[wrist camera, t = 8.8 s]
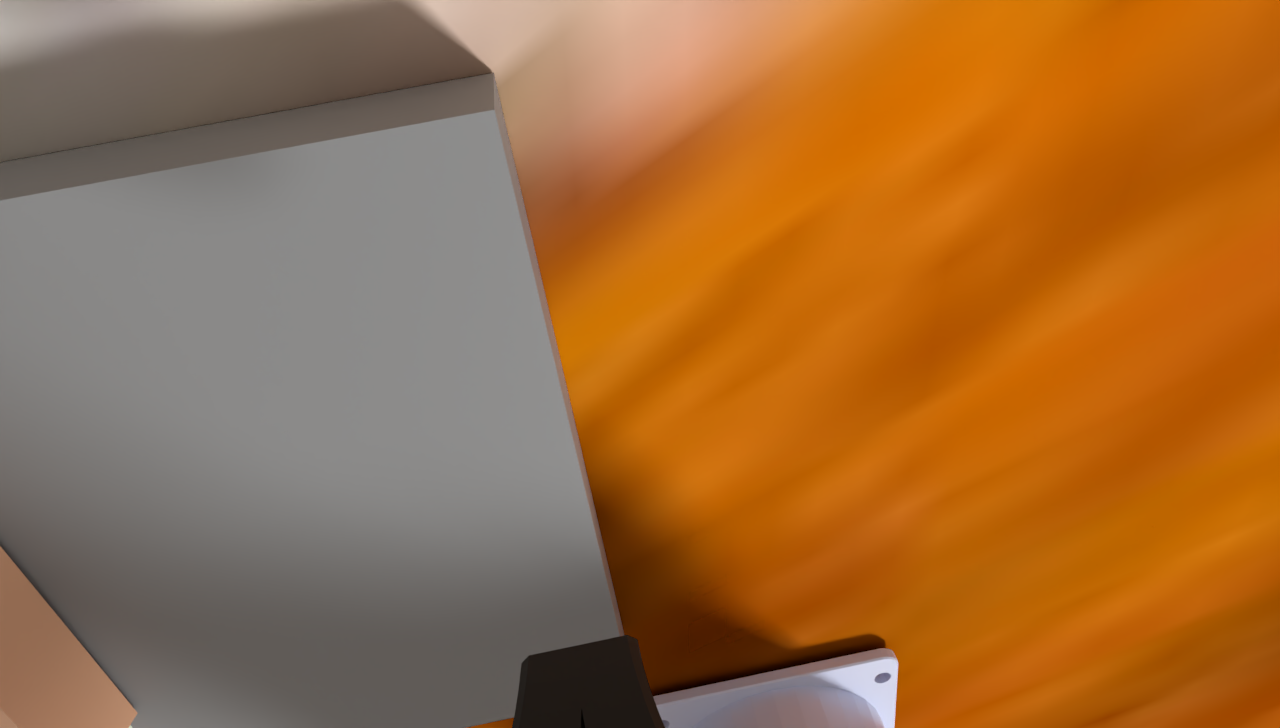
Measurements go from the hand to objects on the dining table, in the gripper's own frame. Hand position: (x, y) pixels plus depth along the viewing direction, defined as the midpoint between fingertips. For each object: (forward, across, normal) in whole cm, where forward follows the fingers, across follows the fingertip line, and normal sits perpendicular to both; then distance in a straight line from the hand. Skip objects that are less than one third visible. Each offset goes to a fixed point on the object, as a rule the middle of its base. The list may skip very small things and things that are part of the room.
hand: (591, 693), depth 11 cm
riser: (+9, +6, +3) cm, 12 cm away
